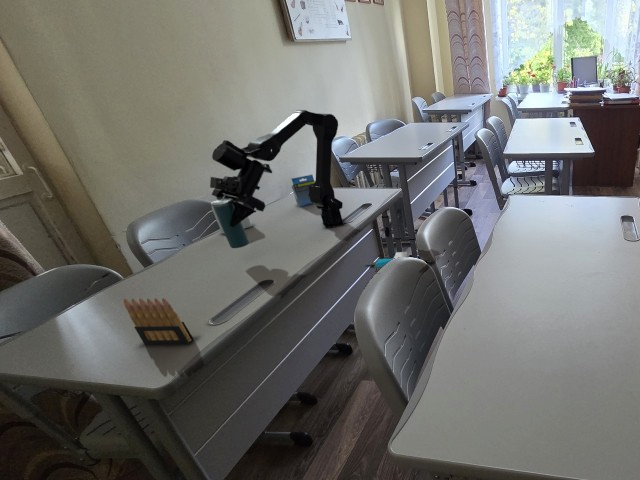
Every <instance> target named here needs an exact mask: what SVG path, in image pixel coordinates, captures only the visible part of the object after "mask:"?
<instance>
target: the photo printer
mask: <svg viewBox="0 0 640 480" xmlns="http://www.w3.org/2000/svg"><path fill="white" fill-rule="evenodd" d="M238 203H239V202H238ZM211 210H212V213H213V215H214V217H215V220H216V222H217V225H218V227H219V229H220V232H221V233H222V234H223V235H225V233H224V231H223V229H222V226H221V224H220V222H219V219H218V217H217V215H216V213H215V210H214V208H213V207H212V206H211ZM241 223H242V226H243V228H244V230H245V229H248V228H252V222H251V219H250V217H249V216H248V217H247V218H245V219H244V220H242V221H241Z"/></svg>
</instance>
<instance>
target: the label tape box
mask: <svg viewBox="0 0 640 480" xmlns="http://www.w3.org/2000/svg"><path fill="white" fill-rule="evenodd" d="M290 179H291V181H292V185H291V189H292V193H293V195H294V199H295V202H296V205H297V206H298V207H300V208H301V207H305V206H308V205H314V204H313V203H312V202H311V201H310V197H308V195H309V185H312V186H313V185H314V183H315V181H316V180H315V179H314V175H313V174H308V175H303V176H298V177H293V178H290Z"/></svg>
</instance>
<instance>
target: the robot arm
mask: <svg viewBox="0 0 640 480" xmlns="http://www.w3.org/2000/svg"><path fill="white" fill-rule="evenodd" d="M306 125H308V126H311V127H312V131H313V134H314V136H315V138H316V154H315V156H316V157H315V180H314V181H315V183H314V185H313V186H312V185H309V195H308V197H310V201H311V202H312V203H313V204H312V205H314V206H315V207H316V208H317V209H318V210H320V211H321V212H320V219H321V221H322V224H323V226H325V229H329V228H335V227H339V226H344V225H345V223H344V220H343V217H342V213H341V210H342V209H343V206H344V205H343V201H341V200H339V199H338V198H336V195H335V190H334V188H333V186H332V183H331V177H332V155H333V152H332V151H333V141H334V139H335V138H336V136H337V134H338V128H339V120H338V118H337V117H336V116H335V115H334V114H332V113H320V112H319V113H318V112H317V113H316V112H311V111H308V110H306V109H297V110H295V111H294V112H293V113H292V114H291V115H290V116H288V117H287V118H286V119H285V120H284V121H283V122H281V123H280V124H278V126H277V127H275V128H274V129H273V130H272V131H271V132H269V133H267V134H265V135H262V136H259V137H257V138H255V139H253V140H251V141H250V142H249V143H248V144H247V146H245V147H242V148H240V147H238V146H237V145H235V144H234V143H233V142H231V141H230V140H227V139H224V140H223V141H222V142H221V143H220V144H219V145H217V147H216V148H214V149H213V152H212V156H211V158H212V160H213V161H214V162H216V163H218V164H220V165H222V166H224V167H226V168H228V169H229V170H230V171H231V170H232V171H234V172H235V171H237V170H239V171H238V174H237V176H236V175H233V176H227V175H225V176H224V177H223V178H222V177H217V176H210V182H209V188H210V189H213V191H212V192H211V196H214V198H216V200H220V199H228V198H229V199H233V205H234V207H235V209H234V212H233V215H232V218H231V221H230V226H231V227H235V226H236V225H237V224H239V223H240V222H241V221H242V220H244V219H245V218H247V217H249V216H252V214H254V213H257V212H262V213H263V212H264V210H265V208H266V203H265V201H263V200H261V199H259V198H257V197H255V196H254V194H255V192H256V190H257V191H259V190H260V189H261V186H259V184H260V182H261V180H262V177H263V175H264V173H265V174H266V173H267V174H272V173H273V170H272V169H271V166H270V164H269V163H262V162H261V161H265V162H271V161H273V160H274V159H275V158H276V157H277V156H278V155H279V153H280V152H281V150H282V146H283V145H284V144H285V143H286V142H287V141H289V140H290V139H291V138H292V137H293V136H294V135H296V133H298V132H299V131H300V130H301V129H302V128H304V127H305V126H306ZM250 158H252V159H253V160H252V159H250ZM238 202H239V203H238Z"/></svg>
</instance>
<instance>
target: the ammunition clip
mask: <svg viewBox="0 0 640 480" xmlns="http://www.w3.org/2000/svg"><path fill="white" fill-rule="evenodd" d="M153 300H154V302H153V301H152V300H151V298H146V301H145V300H143V298H139V299H138V301H137V300H135V299H134V298H131V302H130V301H129V300H128V299H126V298H123V304H124V308H125V309H126V311H127V313H128V315H129V318H130V319H131V322H132V323H133V325H134V329H135V331H136V333H137V334H138V336H139V338H140V340H141V341H142V343H143V345H144V346H169V345H170V346H174V345H175V346H176V345H184V346H185V345H189V344H190V343H191V342H192V341H194V337H193V335H192V333H191V332H190V330H189V328H188V327H187V325H186V324H185V322H184V321H182V320H181V319H180V317H179V315H178V313H177V312H176V311H175V310H174V308H173V306H172V304H170V303H169V301H168V300H166V299H165V298H164V297H163V298H161V300H159V299H158V298H156V297H155V298H154V299H153Z"/></svg>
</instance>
